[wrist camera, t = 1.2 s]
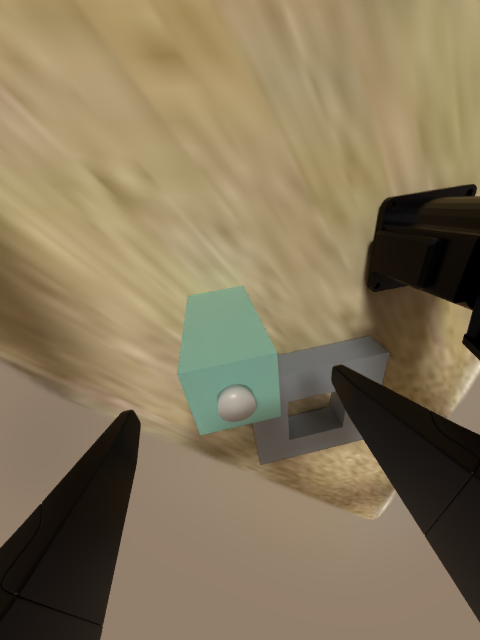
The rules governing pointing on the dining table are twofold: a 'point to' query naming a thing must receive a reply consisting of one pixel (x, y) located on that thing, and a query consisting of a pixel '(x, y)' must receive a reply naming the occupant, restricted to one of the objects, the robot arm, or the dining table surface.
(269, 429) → the plate
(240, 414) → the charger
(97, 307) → the dining table surface
